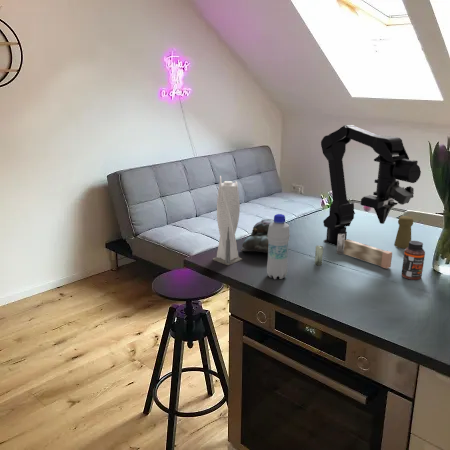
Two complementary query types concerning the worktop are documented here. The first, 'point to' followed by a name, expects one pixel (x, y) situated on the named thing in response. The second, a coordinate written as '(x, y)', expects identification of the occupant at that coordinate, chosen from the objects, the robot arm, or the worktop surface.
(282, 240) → the bottle
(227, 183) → the skyscraper
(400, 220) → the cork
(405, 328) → the worktop surface
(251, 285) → the worktop surface
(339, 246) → the gate posts
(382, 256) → the light brown wooden plank
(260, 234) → the grey lumpy mass
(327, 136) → the robot arm
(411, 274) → the supplement bottle
